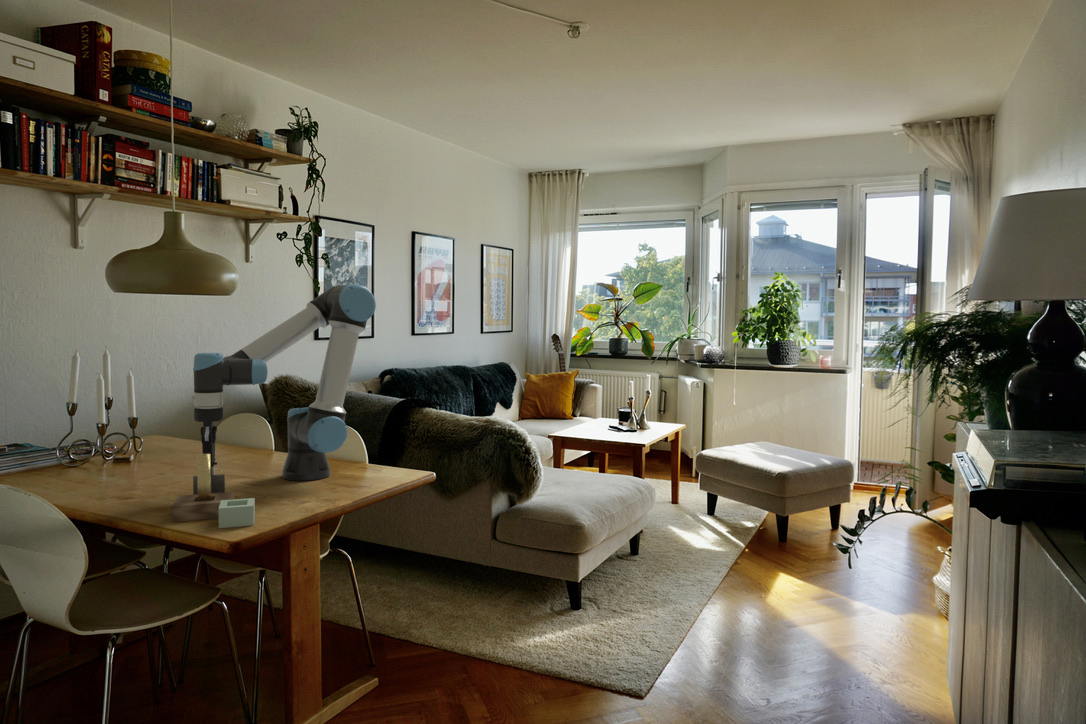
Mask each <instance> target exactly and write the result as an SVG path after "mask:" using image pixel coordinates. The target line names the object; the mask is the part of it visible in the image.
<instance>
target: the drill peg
mask: <svg viewBox="0 0 1086 724" xmlns="http://www.w3.org/2000/svg"><path fill="white" fill-rule="evenodd" d="M196 459H197V460H196V464H197V465H196V467H197V475H196V476H198V501H211V454H210V453H203V452H201V453H198V454H197V453H196Z"/></svg>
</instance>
